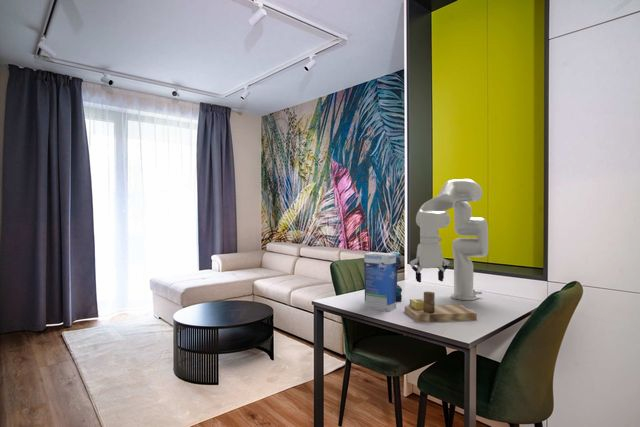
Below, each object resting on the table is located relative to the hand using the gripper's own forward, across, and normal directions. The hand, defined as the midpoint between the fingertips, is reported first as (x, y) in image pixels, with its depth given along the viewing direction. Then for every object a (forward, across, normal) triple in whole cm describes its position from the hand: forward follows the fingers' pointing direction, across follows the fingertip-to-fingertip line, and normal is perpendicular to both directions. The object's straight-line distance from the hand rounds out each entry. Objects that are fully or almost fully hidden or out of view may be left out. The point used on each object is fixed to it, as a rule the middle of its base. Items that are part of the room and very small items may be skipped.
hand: (429, 281), depth 152 cm
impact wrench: (+17, +5, -33) cm, 37 cm away
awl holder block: (+16, -3, -17) cm, 24 cm away
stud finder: (+13, +2, -6) cm, 14 cm away
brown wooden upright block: (+15, +1, +1) cm, 15 cm away
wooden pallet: (+16, -5, -2) cm, 17 cm away
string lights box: (+16, +17, -17) cm, 29 cm away
